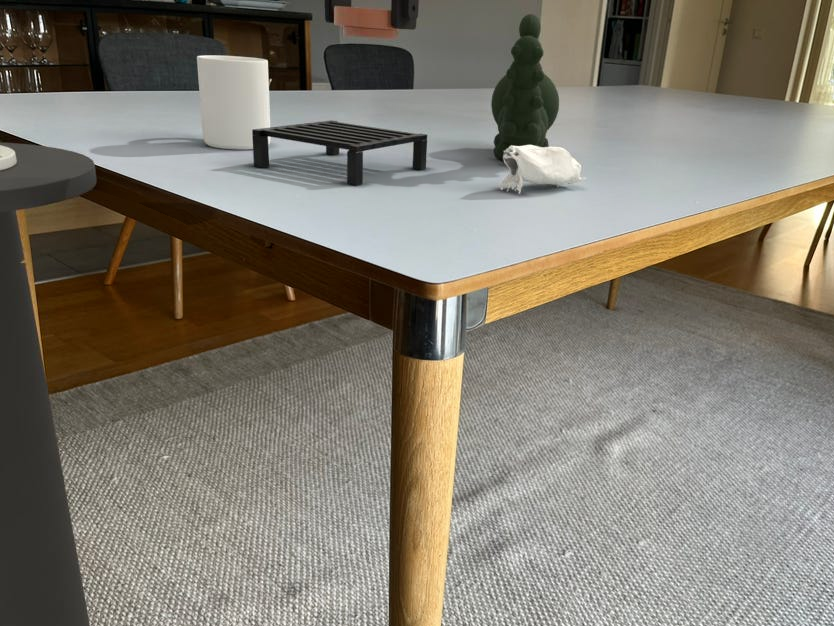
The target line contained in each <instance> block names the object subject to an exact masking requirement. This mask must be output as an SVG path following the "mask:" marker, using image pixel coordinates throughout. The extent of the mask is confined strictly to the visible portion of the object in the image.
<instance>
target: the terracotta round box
mask: <svg viewBox="0 0 834 626" xmlns="http://www.w3.org/2000/svg"><path fill="white" fill-rule="evenodd" d="M333 15H334V23H333V25H334V26H340V27H341V35H342V36H350V37H360V38H361V37H362V38H372V39H373V38H374V39H388V40H389V39H391V40H398V39H399V31H408V29H394V28H393V27H392V26H391V9H382V8H369V7H357V6H356V7H355V6H351V7H345V6H334V7H333Z"/></svg>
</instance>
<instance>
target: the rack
mask: <svg viewBox="0 0 834 626" xmlns="http://www.w3.org/2000/svg"><path fill="white" fill-rule="evenodd" d="M268 137H271V138H273V139H281V140H286V141H293V142H299V143H305V144H312V145H315V146H316V145H318V146H323V147H325V154H326V155H330V156H337V155H340V150H347V151H346V171H347V172H346V179H347V180H346V183H347V185H351V186H360V185H363V183H364V152H365V151H372V150H377V149H382V148H383V149H384V148H389V147H395V146H400V145H405V144H410V143H412V144H413V145H412V170H417V171H422V170H426V169H427V157H428V155H427V154H428V150H427V149H428V134H427V133H414V132H407V131H400V130H394V129H387V128H380V127H373V126H367V125H360V124H353V123H347V122H340V121H338V120H333V119H331V120H321V121H314V122H313V121H312V122H304V123H297V124H296V123H295V124H289V125H278V126H270V128H261V129H253V130H252V138H253V149H252V155H253V167H255V168H261V169H263V168H268V167H269V168H270V155H269V154H270V152H269V145H268Z"/></svg>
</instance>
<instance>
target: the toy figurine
mask: <svg viewBox="0 0 834 626" xmlns="http://www.w3.org/2000/svg"><path fill="white" fill-rule="evenodd" d="M541 29H542V25H541V21H540V19H539V17H538V16H537V15H535V14H533V13H529V14H526V15H524V16H523V17H522V18H521V20H520V23H519V26H518V33H519V38H518V39H517V40H516V41H515V42H514V45H513V46H512V47H511V49H510V54H511V55H512V59H513V61H512V62H511V64H510V66H509V68H508V69H507V70H506V72H505V75H504V76H502V78H501V79H499V81H498V82H497V84H496V85H495V87H494V88H493V92H492V96H491V103H490V107H491V113H492V117H493V119H494V122H495V124H496V125H497V131H498V133H497V134H496V135H495V136H494V139H493V144H494V149H493V151H492V152H493V155H494V158H496V159H497V160H500V161H501V160H503V154H505V153H504V151H505V150H506V149H507V150H508V148H509V147H510V146H511V145H512V146H524V145H534V146H538V147H550V145H549V140H548V139H547V132H548V131H549V130H550V128H551V127H552V126H553V124H554V123H555V121H556V119H557V117H558V114H559V109H560V97H559V91H558V90H557V87H556V85H555V83H554V82H553V81H552V79H551V78H550V77H549V76H547V74H545V72H544V71H543V67H542V65H541V62H540V61H541V60H542V58H543V56H544V49H543V47H542V44H541V42H540V41H539V37H540V34H541V32H542V31H541ZM503 161H504V160H503Z"/></svg>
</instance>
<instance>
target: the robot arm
mask: <svg viewBox="0 0 834 626" xmlns="http://www.w3.org/2000/svg"><path fill="white" fill-rule="evenodd" d="M390 2H391V5H390V10H391V26H392V27H393V28H394V29H407V30H411V31H413V30H416V28H417V19H418V17H419V2H420V0H391V1H390ZM334 6H345V7H352V0H324V20H325V22H326V23H329V24H334V15H333V7H334ZM16 162H17V160H16V154H15V151H14V150H12V149H11V148H8V147H5V146H1V145H0V171H2V170H6V169H8V168H11V167H13V166H14V165H15V164H16Z"/></svg>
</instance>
